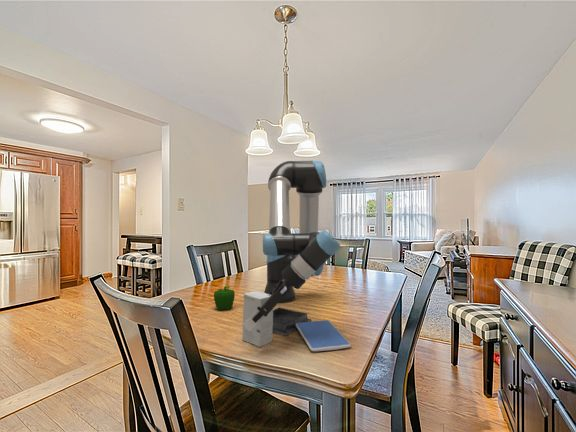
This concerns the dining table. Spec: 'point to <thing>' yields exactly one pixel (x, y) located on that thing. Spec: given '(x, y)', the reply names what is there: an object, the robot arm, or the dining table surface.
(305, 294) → the dining table surface
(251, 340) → the skincare box
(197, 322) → the dining table surface
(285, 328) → the square metal tray
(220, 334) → the dining table surface
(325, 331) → the tablet computer
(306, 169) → the robot arm
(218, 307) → the bell pepper
